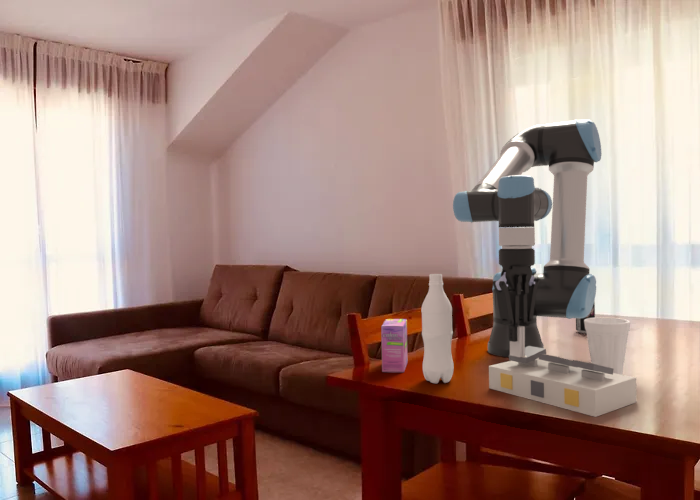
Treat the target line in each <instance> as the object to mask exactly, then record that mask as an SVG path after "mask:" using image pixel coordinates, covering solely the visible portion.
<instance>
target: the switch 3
mask: <svg viewBox="0 0 700 500" xmlns="http://www.w3.org/2000/svg"><path fill="white" fill-rule="evenodd" d="M572 361H573V363H572V366H574V367H579V368H583V369H587V370H592V371H597V372H602V373H607V374H612V375H613V370H614V369H613V368H609V367H604V366H600V365H596V364H593V363H591V362H588V361H582V360H578V359H576V360H575V359H572Z"/></svg>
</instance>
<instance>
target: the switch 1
mask: <svg viewBox="0 0 700 500" xmlns="http://www.w3.org/2000/svg"><path fill="white" fill-rule="evenodd" d="M540 354H546V355H547V348H538V347H532V346H527V347H525V356H524V357H516V356H511V355H509V357H508V361H516V362H520V363H525V364H527V363H529V362H531V361H533V360H535V359H537V358H539V355H540Z"/></svg>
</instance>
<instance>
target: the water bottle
mask: <svg viewBox="0 0 700 500" xmlns="http://www.w3.org/2000/svg"><path fill="white" fill-rule="evenodd" d="M428 277H429V281H428V282H429V283H428V286H429V287H428V290H427V291H428V292H427V294H426V296H425V298H424V299H423V302H422V304H421V308H420V309H421V311H420V312H421V337H422V341H423V351H424V353H423V361H422V374H423V376H424V379H425V380H426V381H427V382H430V383H432V384H438V383H439V382H440V380H442V382H443V383H444V384H446V383H449V382H450V381H451V380H452V377H453V375H454V370H455V369H454V361H453V356H452V340H453V334H454V331H453V316H452V315H453V307H452V303H451V302H450V300H449V298H448V297H447V294H446V293H445V290H444V280H443V274H442V273H430V274H429V276H428Z"/></svg>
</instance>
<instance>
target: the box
mask: <svg viewBox="0 0 700 500" xmlns="http://www.w3.org/2000/svg"><path fill="white" fill-rule="evenodd" d="M380 328H381V329H380V330H381V333H380V334H381V372H382V373H405V370H406V368H407V365H408V361H409V360H408V319H407V318H387V319H385V320H384V321H383V323H382V325H381V326H380Z"/></svg>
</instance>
